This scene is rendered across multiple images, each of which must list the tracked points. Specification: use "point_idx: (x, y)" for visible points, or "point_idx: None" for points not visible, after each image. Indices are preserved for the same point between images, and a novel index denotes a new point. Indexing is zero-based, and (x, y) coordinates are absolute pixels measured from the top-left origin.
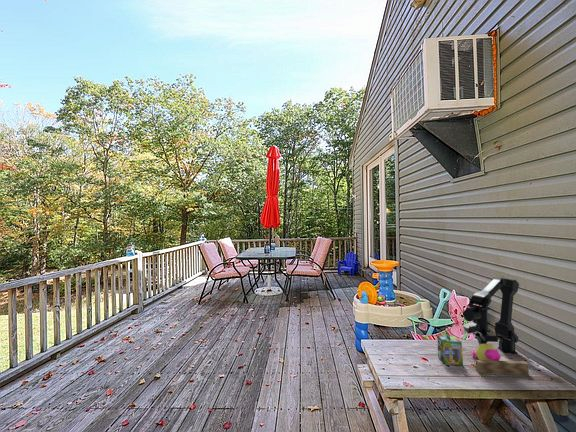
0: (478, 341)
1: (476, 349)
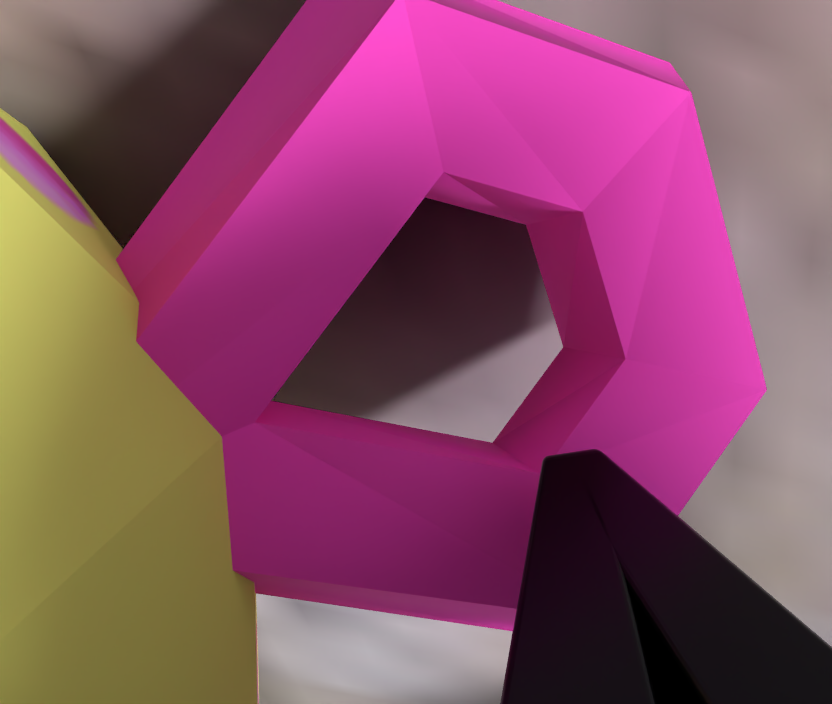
0: (811, 697)
1: (711, 274)
